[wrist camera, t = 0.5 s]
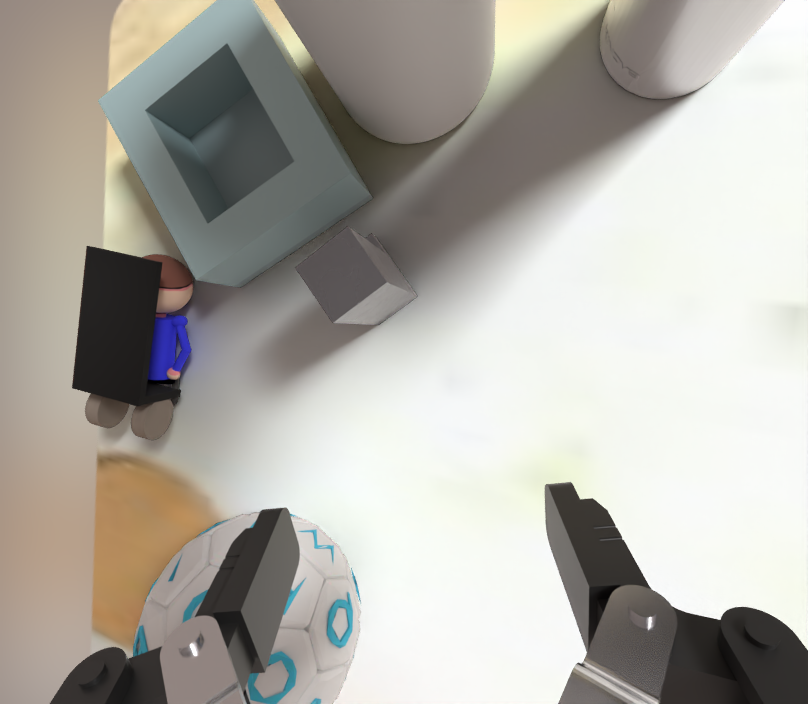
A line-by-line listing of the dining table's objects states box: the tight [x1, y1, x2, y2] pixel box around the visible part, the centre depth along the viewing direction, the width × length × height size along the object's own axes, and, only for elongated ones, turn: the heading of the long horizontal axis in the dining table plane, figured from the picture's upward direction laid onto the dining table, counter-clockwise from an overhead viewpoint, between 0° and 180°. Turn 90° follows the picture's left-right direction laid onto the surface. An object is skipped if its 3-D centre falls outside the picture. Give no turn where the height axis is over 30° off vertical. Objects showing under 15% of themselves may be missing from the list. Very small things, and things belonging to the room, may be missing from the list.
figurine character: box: [72, 246, 193, 440], centre depth 37 cm, size 7×8×15 cm
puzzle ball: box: [133, 512, 361, 704], centre depth 32 cm, size 15×15×15 cm
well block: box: [98, 0, 373, 288], centre depth 35 cm, size 14×16×6 cm
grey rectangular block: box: [296, 226, 418, 325], centre depth 31 cm, size 6×4×11 cm, turn 35°
